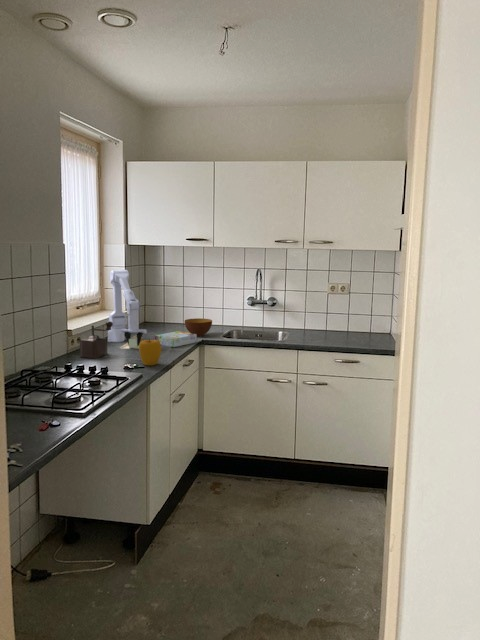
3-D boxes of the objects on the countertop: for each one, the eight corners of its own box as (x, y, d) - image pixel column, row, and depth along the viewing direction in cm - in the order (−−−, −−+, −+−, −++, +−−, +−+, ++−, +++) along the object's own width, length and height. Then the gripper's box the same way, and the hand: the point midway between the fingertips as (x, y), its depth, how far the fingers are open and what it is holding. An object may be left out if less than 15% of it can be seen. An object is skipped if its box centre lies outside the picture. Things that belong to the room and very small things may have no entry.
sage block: (129, 347, 302) (128, 339, 301) (131, 346, 306) (131, 337, 305) (136, 348, 301) (136, 339, 300) (139, 346, 306) (138, 337, 305)
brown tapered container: (95, 359, 278) (94, 325, 276) (79, 357, 283) (78, 323, 281) (115, 353, 292) (114, 321, 289) (100, 351, 297) (99, 319, 294)
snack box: (154, 344, 316) (173, 347, 307) (154, 335, 315) (173, 338, 306) (178, 339, 333) (197, 342, 324) (178, 330, 332) (197, 333, 323)
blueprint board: (118, 349, 302) (118, 348, 302) (130, 341, 326) (130, 340, 325) (148, 350, 301) (148, 348, 300) (158, 342, 324) (158, 340, 324)
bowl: (187, 339, 335) (187, 323, 333) (182, 334, 351) (182, 318, 350) (214, 337, 339) (214, 322, 338) (209, 332, 356) (208, 318, 355)
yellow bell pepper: (163, 362, 273) (162, 337, 271) (159, 367, 262) (159, 341, 260) (141, 361, 273) (140, 337, 271) (137, 367, 262) (136, 341, 260)
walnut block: (133, 345, 310) (132, 337, 309) (135, 343, 314) (135, 335, 313) (140, 345, 309) (140, 337, 308) (142, 344, 314) (142, 335, 313)
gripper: (118, 322, 298) (119, 346, 300) (144, 323, 297) (144, 347, 299) (122, 320, 305) (123, 344, 307) (147, 321, 304) (147, 344, 306)
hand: (134, 345), depth 303 cm, fingers closed on sage block, 4 cm apart
